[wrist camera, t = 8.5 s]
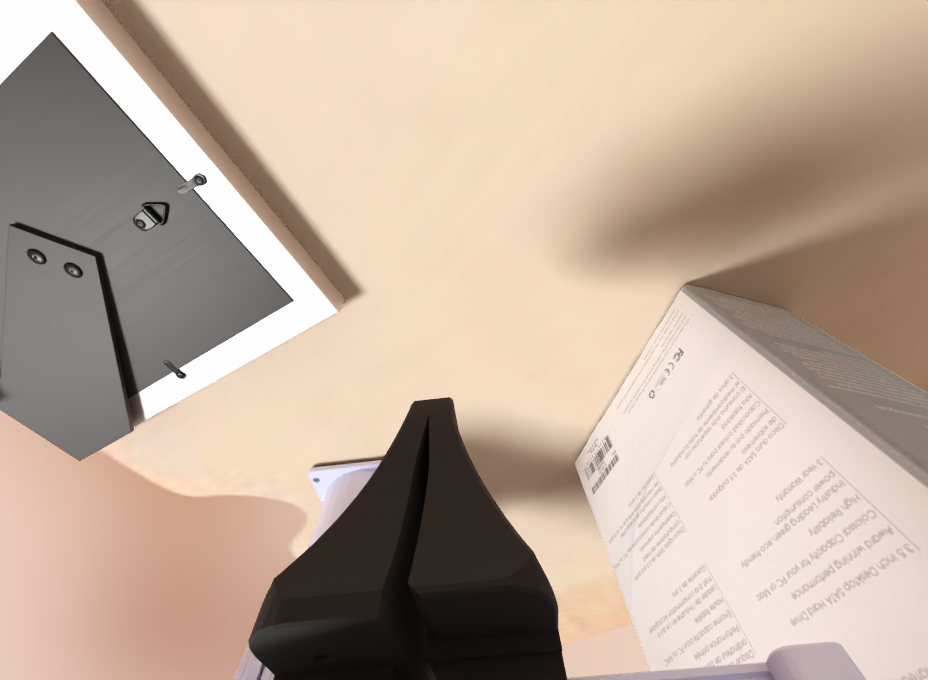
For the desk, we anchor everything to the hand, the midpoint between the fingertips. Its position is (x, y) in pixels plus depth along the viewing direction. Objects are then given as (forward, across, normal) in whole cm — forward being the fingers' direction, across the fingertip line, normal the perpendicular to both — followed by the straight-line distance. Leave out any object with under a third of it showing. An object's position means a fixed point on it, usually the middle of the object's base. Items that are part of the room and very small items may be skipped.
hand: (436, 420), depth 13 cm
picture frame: (+10, +18, -4) cm, 21 cm away
